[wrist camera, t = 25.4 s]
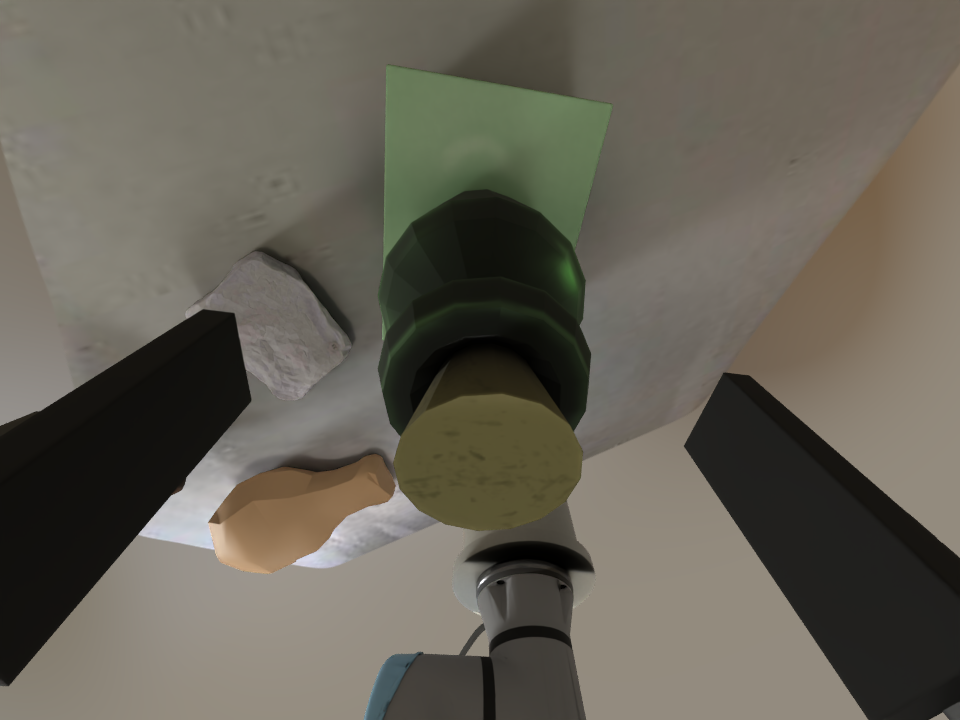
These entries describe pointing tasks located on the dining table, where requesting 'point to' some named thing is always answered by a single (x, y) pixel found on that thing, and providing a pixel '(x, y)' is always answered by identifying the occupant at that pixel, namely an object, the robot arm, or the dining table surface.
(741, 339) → the dining table surface
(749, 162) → the dining table surface
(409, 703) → the robot arm
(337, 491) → the squash
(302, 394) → the stone block
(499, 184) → the chest lid
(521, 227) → the potion bottle
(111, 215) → the dining table surface
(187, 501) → the dining table surface
